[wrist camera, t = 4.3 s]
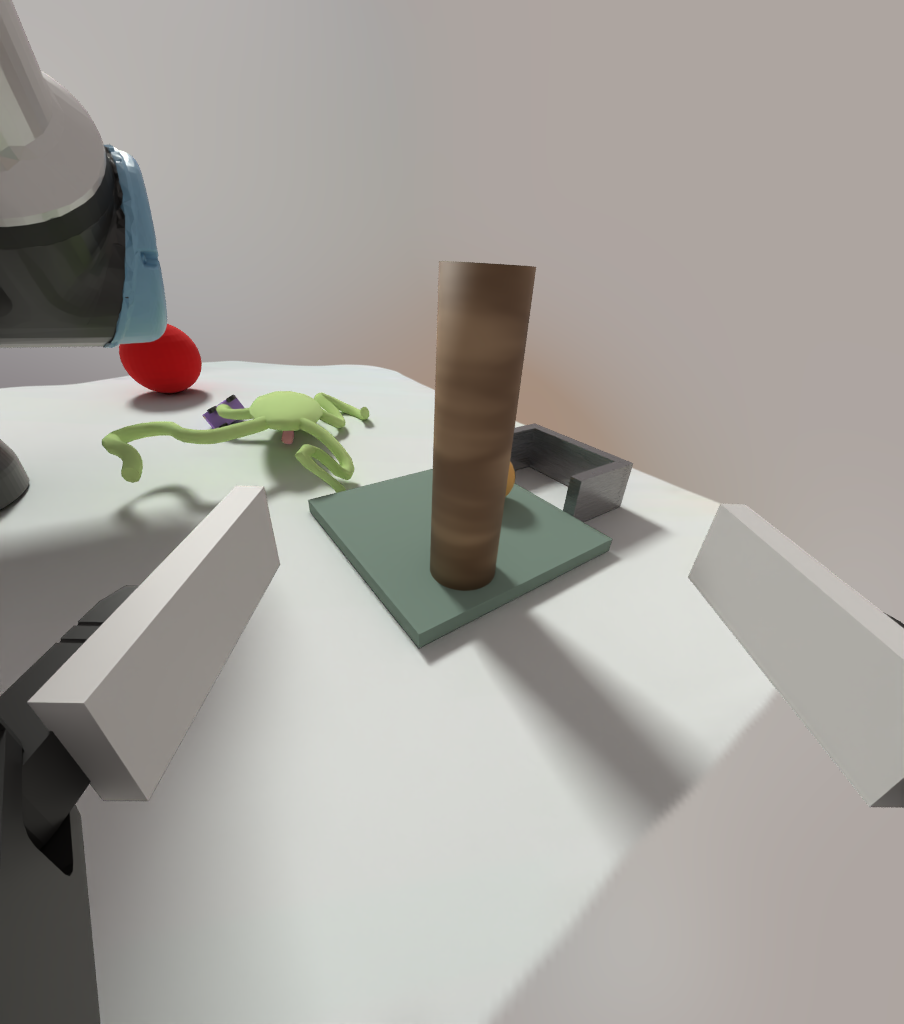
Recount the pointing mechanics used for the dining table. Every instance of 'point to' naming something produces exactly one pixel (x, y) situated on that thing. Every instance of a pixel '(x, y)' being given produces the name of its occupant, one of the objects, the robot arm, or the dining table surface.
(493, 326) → the peg
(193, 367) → the ornament
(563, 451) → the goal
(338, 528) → the mat
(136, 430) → the figurine
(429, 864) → the dining table surface
